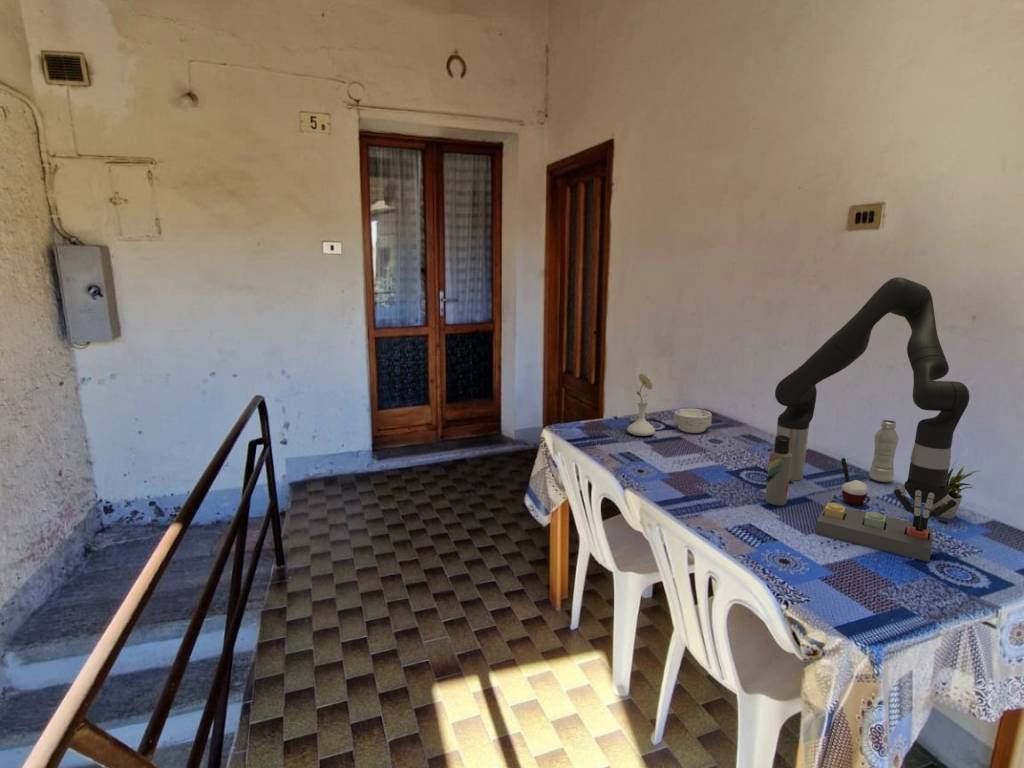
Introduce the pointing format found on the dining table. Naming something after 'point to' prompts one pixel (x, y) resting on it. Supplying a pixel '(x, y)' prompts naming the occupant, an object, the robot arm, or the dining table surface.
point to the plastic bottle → (884, 452)
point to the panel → (876, 534)
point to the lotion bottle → (779, 472)
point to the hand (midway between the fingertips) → (918, 529)
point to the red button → (917, 533)
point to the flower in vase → (642, 412)
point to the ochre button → (835, 511)
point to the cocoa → (853, 489)
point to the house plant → (953, 492)
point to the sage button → (875, 520)
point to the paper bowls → (692, 420)
